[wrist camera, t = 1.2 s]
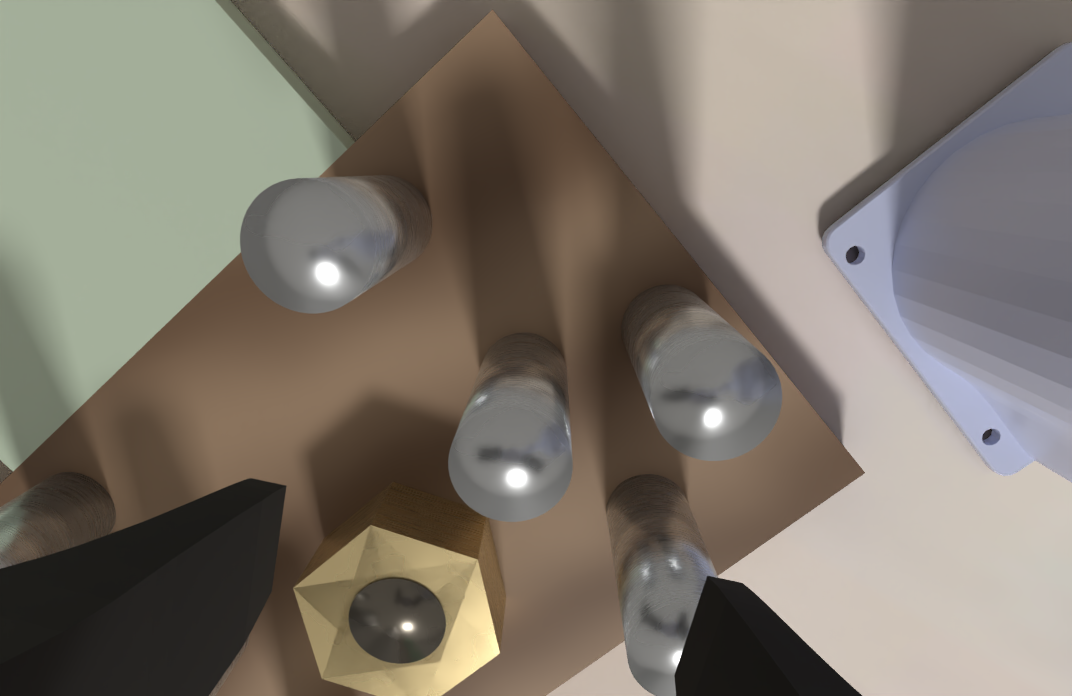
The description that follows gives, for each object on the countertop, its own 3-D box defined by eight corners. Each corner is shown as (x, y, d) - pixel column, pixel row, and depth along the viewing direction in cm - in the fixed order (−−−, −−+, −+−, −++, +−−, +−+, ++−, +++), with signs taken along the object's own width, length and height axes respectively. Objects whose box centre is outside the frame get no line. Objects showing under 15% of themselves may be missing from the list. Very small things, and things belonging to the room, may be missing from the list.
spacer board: (843, 451, 21) (865, 472, 19) (300, 836, 25) (285, 877, 24) (497, 22, 18) (492, 9, 17) (-45, 541, 22) (-87, 567, 21)
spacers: (814, 438, 19) (926, 555, 13) (257, 838, 23) (159, 1060, 18) (498, 50, 17) (469, -12, 11) (-56, 575, 21) (-289, 730, 15)
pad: (363, 150, 19) (347, 149, 17) (49, 451, 21) (12, 471, 20) (87, -162, 17) (43, -193, 16) (-218, 207, 20) (-280, 209, 18)
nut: (429, 452, 20) (411, 493, 17) (542, 570, 20) (540, 624, 18) (290, 565, 21) (255, 619, 18) (404, 672, 21) (384, 738, 19)
